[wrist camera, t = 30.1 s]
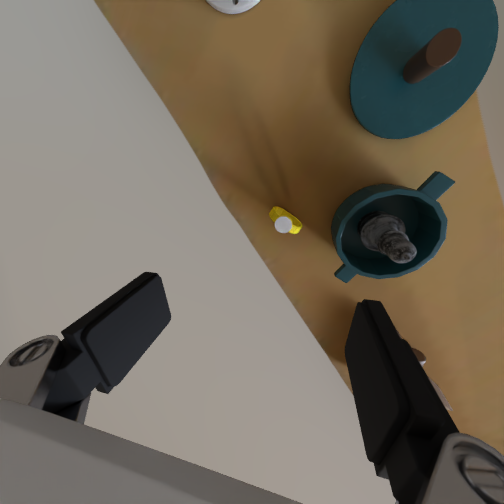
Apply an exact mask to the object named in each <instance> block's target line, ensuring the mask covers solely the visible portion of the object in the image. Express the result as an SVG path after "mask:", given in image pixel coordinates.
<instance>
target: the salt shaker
mask: <svg viewBox="0 0 504 504" xmlns="http://www.w3.org/2000/svg"><path fill="white" fill-rule="evenodd" d="M357 231H358V234H359V236H360V237H361V241H362V243H363V245H364V246H365V247H366V248H368V249H370V250H373V251H380V252H381V253H382V254H384V255H387V256H388V257H389V258H390V259H391V260H392V261H394V262H396V263H406V262H409V261H411V260H412V259H413V258H414V257H415V256H416V253H417V250H416V248H415V246H414V245H413V244H412V243H411V242H409V239H408V237H407V235H406V234H405V225H404V223H403V221H402V220H401V219H400V218H398V217H396V216H394V215H389V214H388V213H386V212H384V211H373V212H369V213H368V214H366V215H364V216H363V217H362V218H361V219H360V221H359V223H358V225H357Z"/></svg>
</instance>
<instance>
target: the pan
mask: <svg viewBox="0 0 504 504" xmlns="http://www.w3.org/2000/svg"><path fill="white" fill-rule="evenodd" d="M454 183H455V181H453V180H452V179H450V178H449V177H447V176H446V175H444V174H443V173H441V172H437V171H435V172H434V173H433V174H432V175H431V176H430V177H429V178H428V179H427V180H426V181H425V182H424V183H423V184H422V185H421V186H420V187H419V188H418V189H417V190H414V189H411V188H407V187H404V186H398V185H392V184H378V185H372V186H369V187H365V188H363V189H361V190H359V191H357V192H355V193H353V194H352V195H350V196H349V197H348V198H347V199H346V200H345V201H344V202H343V203H342V204H341V205H340V206H339V208H338V209H337V211H336V213H335V215H334V217H333V221H332V226H331V232H332V239H333V243H334V245H335V248H336V251H337V254H338V255H339V257H340V258H341V260H342V261H343V263H344V264H343V265H342V266H341V267H340V268H339V269H338V270H337V271H336V272H335V273H334V275H335V277H337V278H339V279H340V280H342V281H343V282H345V283H347V282H349V281H350V280H351V279H352V278H353V277H354V276H355V275H356V274H359V275H361V276H366V277H371V278H376V279H384V278H395V277H400V276H402V275H405V274H408V273H410V272H413V271H415V270H418V269H419V268H420V267H422V266H423V265H424V264H425V263H427V262H428V261H429V260H431V259H432V258H433V257H434V256H435V255H436V253H437V252H438V250H439V249H440V247H441V245H442V244H443V242H444V241H445V239H446V230H447V218H446V216H445V214H444V211H443V209H442V207H441V205H440V203H439V202H437V201H436V200H437V199H438V198H439V197H440V196H441V195H442V194H443V193H444V192H445V191H447V190H448V189H449V188H450V187H451V186H452V185H453V184H454ZM373 211H384V212H386V213H388V214H389V215H394V216H396V217H398V218H400V219H401V220H402V221H403V223H404V225H405V234H406V235H407V237H408V239H409V242H411V243H412V244H413V245H414V246H415V248H416V250H417V253H416V256H415V257H414V258H413V259H412V260H411V261H409V262H406V263H396V262H394V261H392V260H391V259H390V258H389V257H388V256H387V255H384V254H382V253H381V252H380V251H373V250H370V249H368V248H366V247H365V246H364V245H363V243H362V241H361V237H360V236H359V234H358V231H357V225H358V223H359V221H360V219H361V218H362V217H363V216H364V215H366V214H368V213H369V212H373Z"/></svg>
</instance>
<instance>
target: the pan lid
mask: <svg viewBox="0 0 504 504" xmlns="http://www.w3.org/2000/svg"><path fill="white" fill-rule="evenodd" d="M497 38H498V15H497V11H496V7H495V4H494V2H493V0H396V1H395V2H394V3H393V4H392V5H391V6H389V7H388V9H387V10H386V11H385V12H384V13H383V14H382V15H381V16H380V17H379V18H378V20H377V21H376V22H375V24H374V25H373V26H372V28H371V29H370V31H369V32H368V34H367V35H366V37H365V39H364V41H363V43H362V45H361V47H360V49H359V51H358V53H357V56H356V58H355V61H354V64H353V68H352V72H351V77H350V86H349V91H350V102H351V106H352V110H353V113H354V115H355V117H356V119H357V120H358V122H359V123H360V124H361V125H362V127H363V128H364V129H366V130H367V131H368V132H370V133H372V134H373V135H375V136H378V137H381V138H387V139H402V138H408V137H412V136H416V135H419V134H421V133H424V132H426V131H428V130H430V129H432V128H434V127H436V126H437V125H439V124H441V123H442V122H444V121H445V120H446V119H448V118H449V117H450V116H451V115H453V114H454V113H455V112H456V111H457V110H458V109H459V108H460V107H461V106H462V105H463V104H464V103H465V102H466V101H467V100H468V99H469V97H470V96H471V95H472V94H473V93H474V91H475V90H476V88H477V87H478V85H479V84H480V82H481V81H482V79H483V77H484V75H485V74H486V72H487V70H488V67H489V65H490V63H491V60H492V57H493V54H494V51H495V48H496V43H497Z"/></svg>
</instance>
